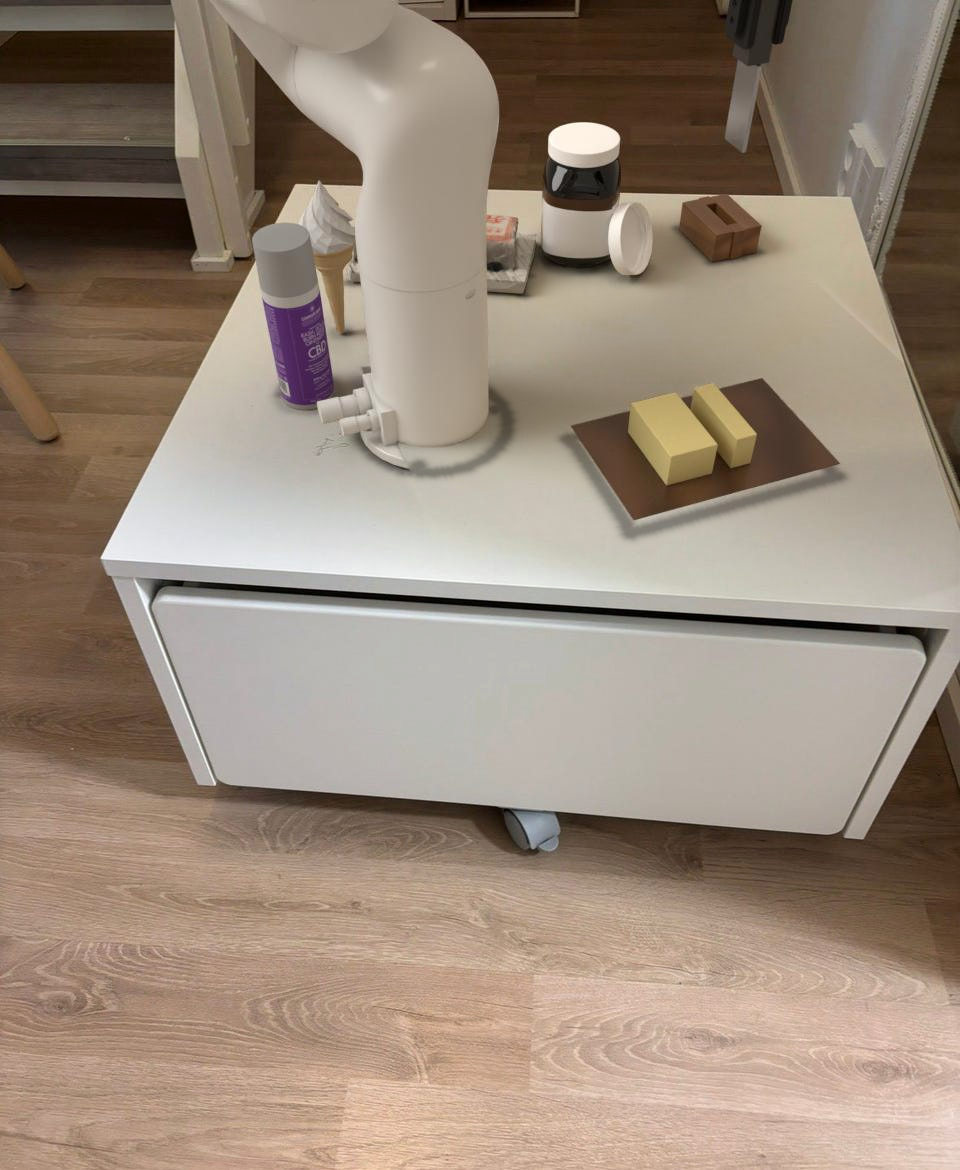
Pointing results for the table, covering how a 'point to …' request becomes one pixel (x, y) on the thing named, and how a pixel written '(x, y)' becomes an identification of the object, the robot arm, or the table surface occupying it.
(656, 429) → the butter block
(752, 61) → the knife
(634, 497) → the board
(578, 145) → the spread jar
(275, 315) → the container
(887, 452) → the table surface
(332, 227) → the ice cream cone
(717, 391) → the butter slice
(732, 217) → the knife block
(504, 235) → the packaged product
